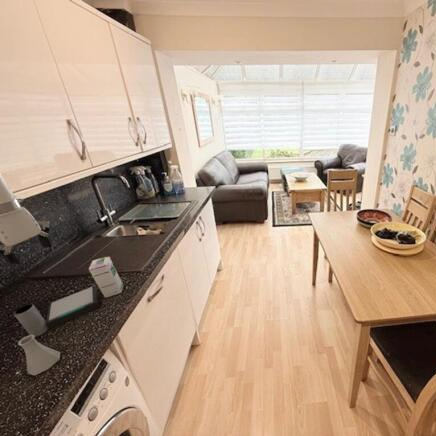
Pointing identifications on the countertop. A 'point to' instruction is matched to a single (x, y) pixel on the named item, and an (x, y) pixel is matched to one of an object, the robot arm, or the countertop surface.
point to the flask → (38, 355)
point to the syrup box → (106, 276)
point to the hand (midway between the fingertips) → (32, 254)
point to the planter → (31, 319)
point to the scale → (72, 306)
